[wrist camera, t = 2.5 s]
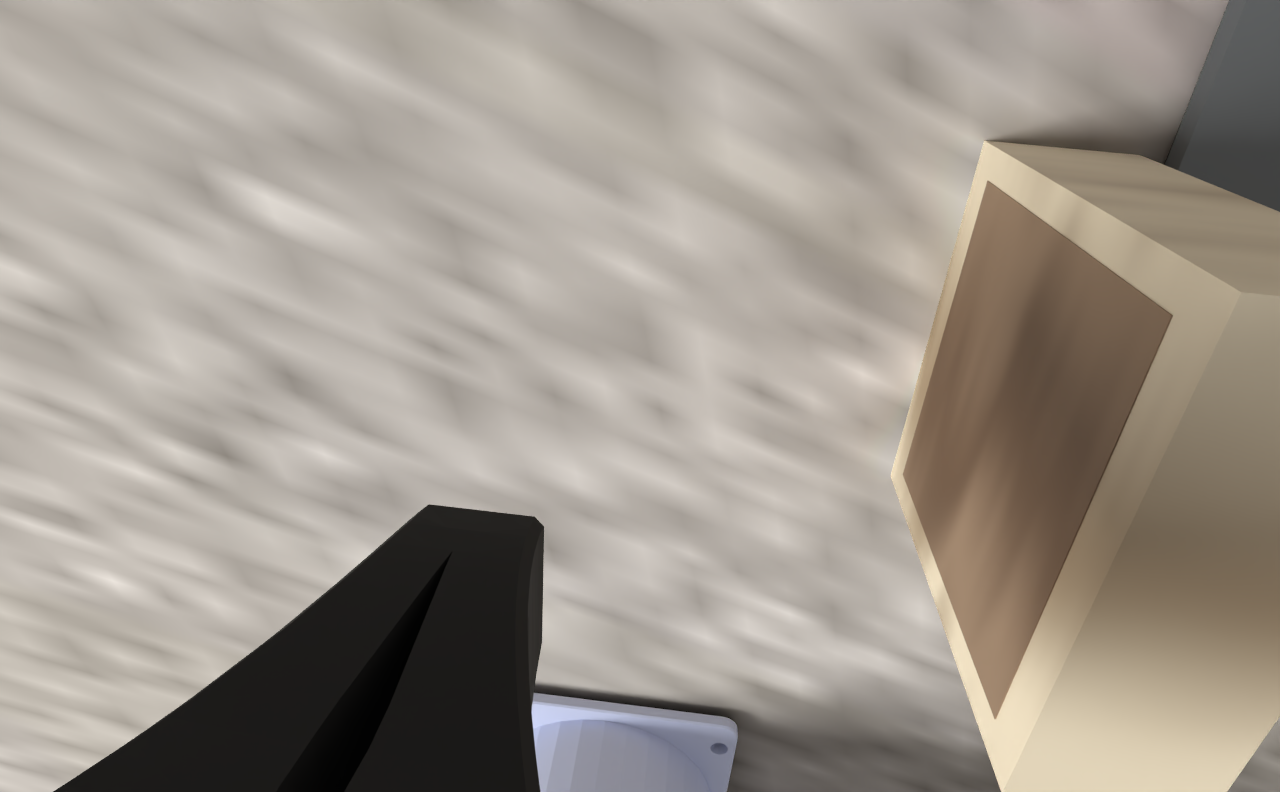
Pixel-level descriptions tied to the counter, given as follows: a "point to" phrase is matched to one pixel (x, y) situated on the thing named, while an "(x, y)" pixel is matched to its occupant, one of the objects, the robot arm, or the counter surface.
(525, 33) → the counter surface
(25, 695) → the counter surface
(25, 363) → the counter surface
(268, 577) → the counter surface
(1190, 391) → the maple slab
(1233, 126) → the mat
